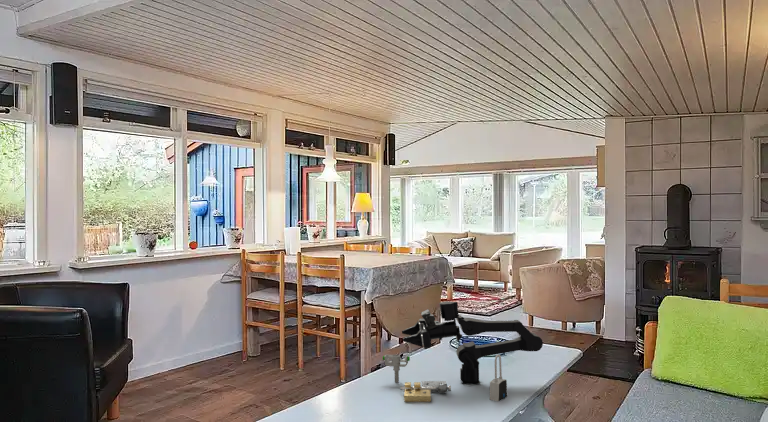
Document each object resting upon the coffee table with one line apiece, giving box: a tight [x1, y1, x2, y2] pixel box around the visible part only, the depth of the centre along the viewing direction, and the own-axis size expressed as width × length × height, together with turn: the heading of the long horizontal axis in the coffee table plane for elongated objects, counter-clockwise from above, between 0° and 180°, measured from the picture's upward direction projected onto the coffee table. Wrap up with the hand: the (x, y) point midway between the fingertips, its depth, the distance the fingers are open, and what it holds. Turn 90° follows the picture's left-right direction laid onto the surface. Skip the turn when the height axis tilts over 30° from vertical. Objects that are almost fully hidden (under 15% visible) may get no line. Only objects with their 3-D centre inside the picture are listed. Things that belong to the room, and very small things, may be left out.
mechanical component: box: [382, 354, 411, 384], centre depth 221 cm, size 3×10×10 cm, turn 79°
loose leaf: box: [403, 381, 432, 403], centre depth 203 cm, size 9×10×4 cm
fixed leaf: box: [400, 380, 452, 394], centre depth 210 cm, size 18×10×4 cm, turn 87°
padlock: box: [489, 354, 508, 402], centre depth 200 cm, size 7×4×15 cm, turn 141°
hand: (402, 335), depth 220 cm, fingers open, 9 cm apart
